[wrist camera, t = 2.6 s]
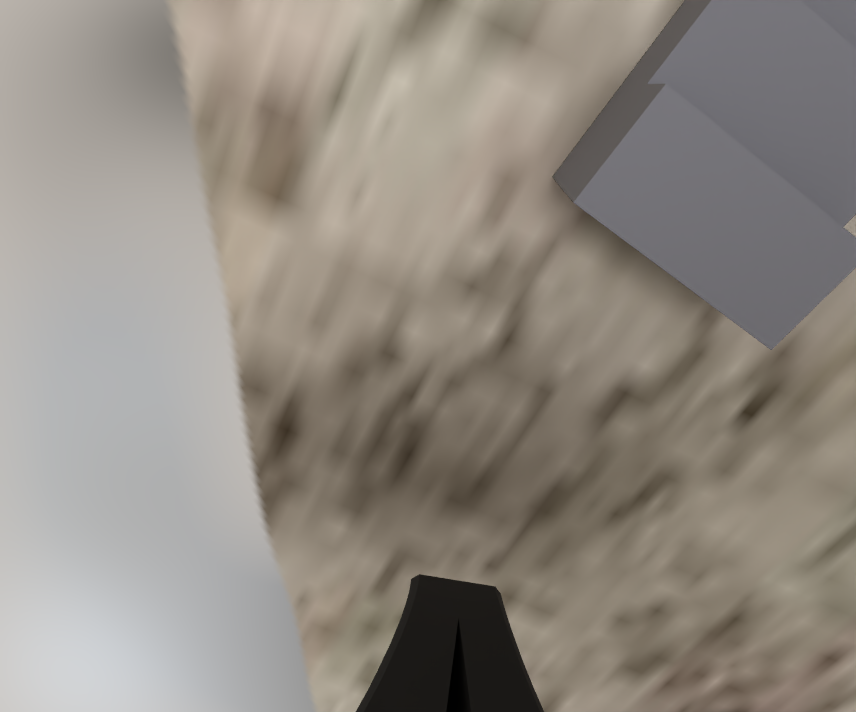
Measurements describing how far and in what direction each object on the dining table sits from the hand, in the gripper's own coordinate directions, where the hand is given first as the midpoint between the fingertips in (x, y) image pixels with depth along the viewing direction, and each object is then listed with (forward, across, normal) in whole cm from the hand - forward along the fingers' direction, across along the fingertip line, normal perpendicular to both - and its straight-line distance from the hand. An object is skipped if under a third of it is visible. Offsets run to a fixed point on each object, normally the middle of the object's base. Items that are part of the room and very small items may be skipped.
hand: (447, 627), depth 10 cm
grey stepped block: (+7, -5, -9) cm, 12 cm away
